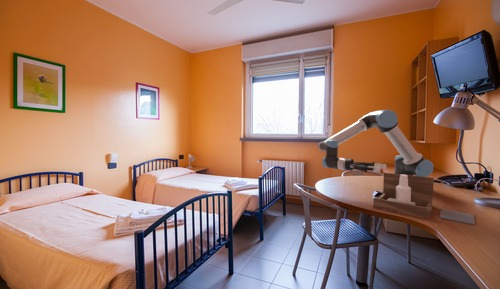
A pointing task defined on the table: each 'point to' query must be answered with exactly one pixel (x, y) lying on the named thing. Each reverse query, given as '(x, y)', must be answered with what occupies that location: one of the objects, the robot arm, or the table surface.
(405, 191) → the spray bottle
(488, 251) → the table surface
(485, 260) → the table surface
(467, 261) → the table surface
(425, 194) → the rack
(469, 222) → the mat
